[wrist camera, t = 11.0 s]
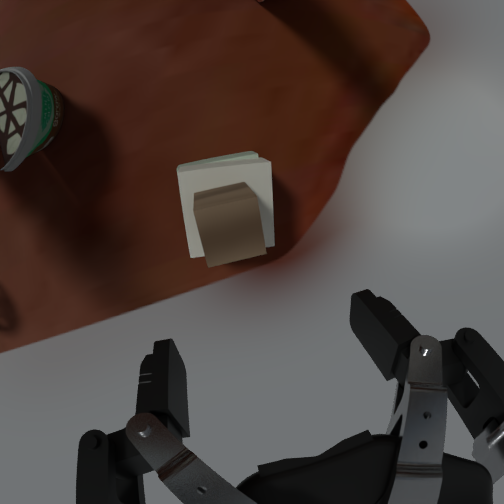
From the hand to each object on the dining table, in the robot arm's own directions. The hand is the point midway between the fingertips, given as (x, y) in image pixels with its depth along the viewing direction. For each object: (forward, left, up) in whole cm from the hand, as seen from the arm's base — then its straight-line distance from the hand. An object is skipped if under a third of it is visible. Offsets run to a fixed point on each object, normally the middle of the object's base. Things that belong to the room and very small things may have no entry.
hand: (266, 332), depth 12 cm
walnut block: (0, 0, -18) cm, 18 cm away
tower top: (0, 0, -22) cm, 22 cm away
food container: (-17, -19, -26) cm, 36 cm away
